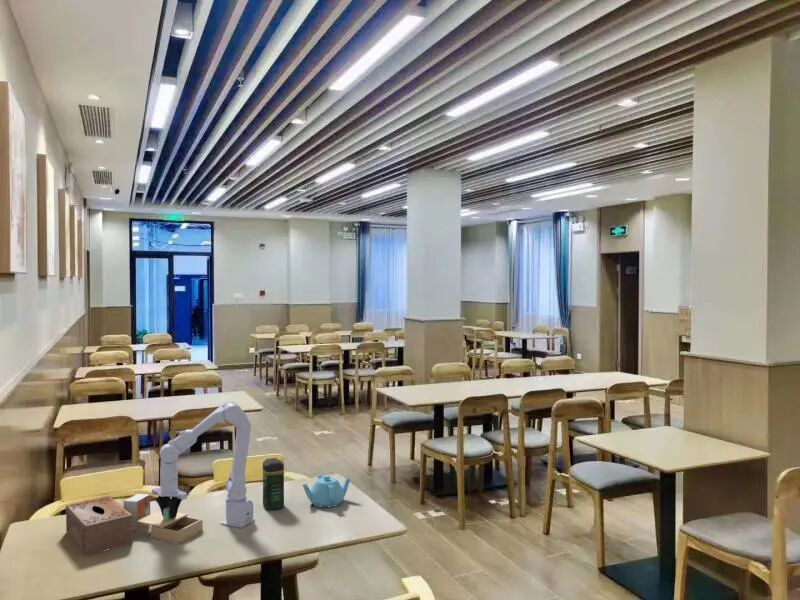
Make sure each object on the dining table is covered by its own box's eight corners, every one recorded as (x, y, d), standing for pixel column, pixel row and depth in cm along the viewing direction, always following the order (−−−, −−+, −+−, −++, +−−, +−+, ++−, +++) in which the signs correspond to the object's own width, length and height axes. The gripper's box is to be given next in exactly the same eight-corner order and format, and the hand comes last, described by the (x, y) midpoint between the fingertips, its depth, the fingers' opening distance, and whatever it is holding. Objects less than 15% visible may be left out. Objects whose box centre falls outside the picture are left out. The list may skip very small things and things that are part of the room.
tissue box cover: (66, 533, 212) (66, 505, 212) (109, 522, 222) (109, 495, 221) (86, 557, 193) (85, 526, 193) (132, 544, 202) (132, 515, 202)
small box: (137, 531, 213) (136, 501, 213) (123, 529, 214) (122, 500, 214) (150, 522, 221) (150, 494, 221) (137, 521, 222) (137, 493, 222)
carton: (202, 530, 213) (202, 519, 213) (177, 543, 202) (177, 532, 202) (176, 525, 218) (176, 514, 218) (151, 538, 207) (150, 526, 207)
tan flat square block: (187, 515, 216) (187, 503, 216) (161, 527, 205) (161, 514, 205) (162, 511, 220) (162, 498, 220) (136, 522, 209) (135, 509, 209)
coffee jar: (286, 508, 234) (286, 461, 234) (266, 511, 231) (265, 464, 230) (280, 500, 243) (280, 455, 242) (261, 503, 239) (260, 457, 239)
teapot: (300, 506, 237) (299, 479, 237) (318, 494, 251) (318, 468, 251) (334, 511, 231) (334, 483, 231) (351, 498, 245) (351, 472, 245)
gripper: (144, 479, 210) (145, 517, 210) (176, 484, 204) (176, 524, 205) (160, 473, 217) (160, 511, 217) (191, 478, 211) (191, 516, 211)
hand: (169, 516), depth 211 cm, fingers open, 3 cm apart
